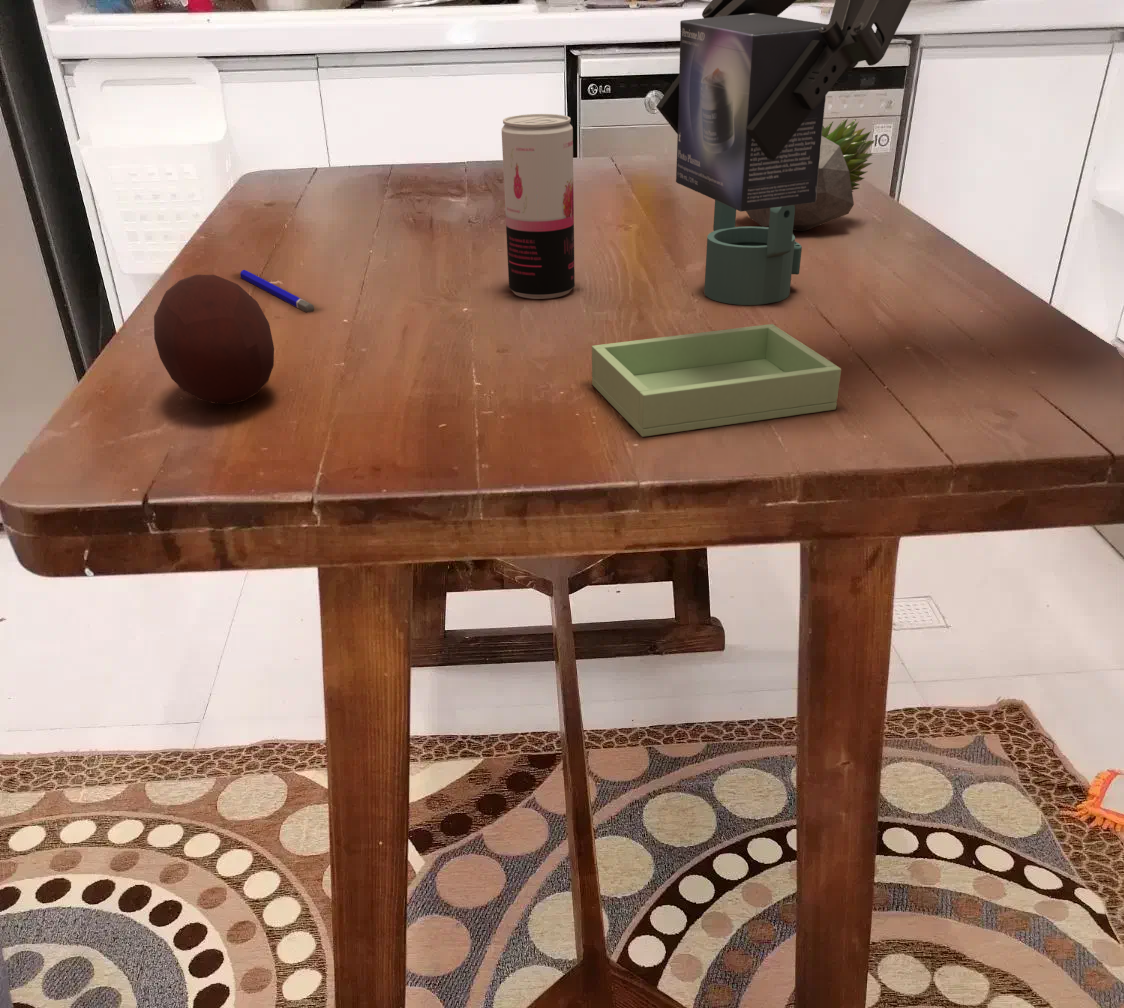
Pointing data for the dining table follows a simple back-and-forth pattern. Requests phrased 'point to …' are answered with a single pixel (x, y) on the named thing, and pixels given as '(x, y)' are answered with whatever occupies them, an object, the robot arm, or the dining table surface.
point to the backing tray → (713, 379)
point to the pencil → (277, 291)
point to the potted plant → (831, 178)
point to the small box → (743, 111)
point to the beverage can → (539, 204)
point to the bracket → (751, 258)
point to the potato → (214, 339)
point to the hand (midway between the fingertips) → (712, 132)
